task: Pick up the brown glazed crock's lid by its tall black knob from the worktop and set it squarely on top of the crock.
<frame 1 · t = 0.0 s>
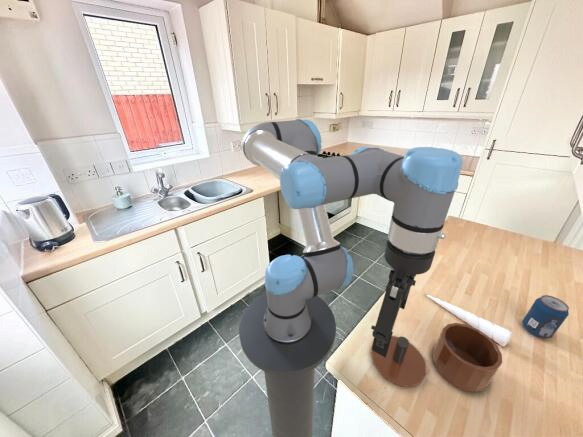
hand: (389, 326, 51), 23 cm above the counter, tool pointing down, fingers open, 13 cm apart
crock lid: (397, 359, 67), point 1 cm above the counter
crock: (458, 366, 65), on the counter
unicorn horn: (463, 320, 78), on the counter
soda can: (534, 330, 74), on the counter
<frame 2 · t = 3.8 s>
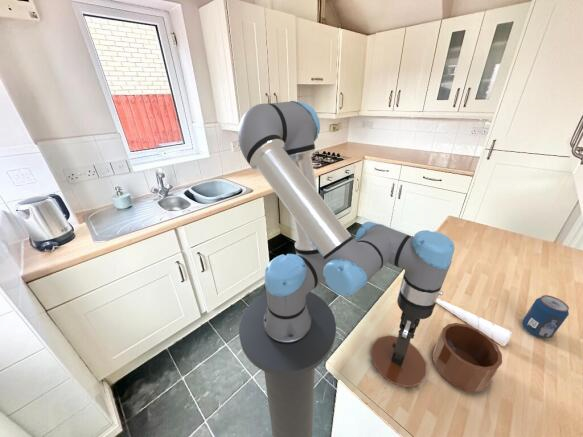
hand: (398, 357, 66), 2 cm above the counter, tool pointing down, fingers closed on crock lid, 3 cm apart
crock lid: (397, 359, 67), point 1 cm above the counter, touching gripper
everything else where it was.
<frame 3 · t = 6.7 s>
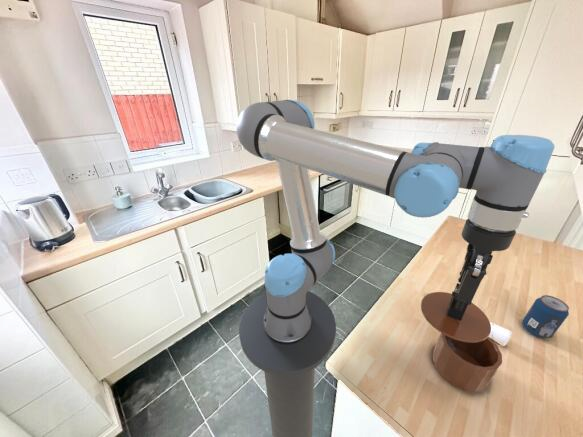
hand: (454, 311, 56), 21 cm above the counter, tool pointing down, fingers closed on crock lid, 3 cm apart
crock lid: (453, 315, 56), point 20 cm above the counter, touching gripper
everything else where it was.
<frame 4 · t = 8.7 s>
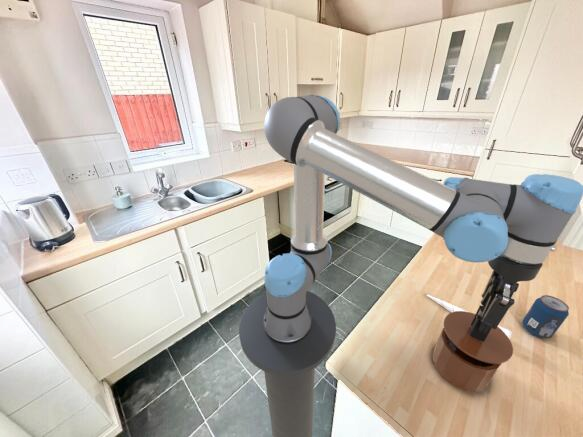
hand: (477, 332, 59), 14 cm above the counter, tool pointing down, fingers closed on crock lid, 3 cm apart
crock lid: (475, 335, 59), point 13 cm above the counter, touching gripper
everything else where it was.
when the fingers open (11 cm above the counter, at t = 9.8 s): crock lid stays where it is, resting on crock.
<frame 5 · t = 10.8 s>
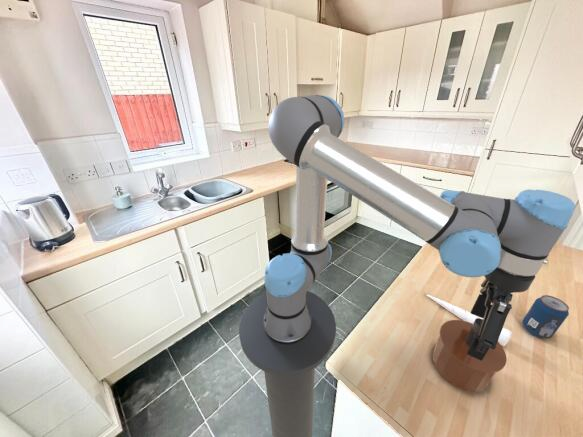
hand: (475, 334, 59), 14 cm above the counter, tool pointing down, fingers open, 13 cm apart
crock lid: (470, 344, 61), point 9 cm above the counter, touching crock
everything else where it was.
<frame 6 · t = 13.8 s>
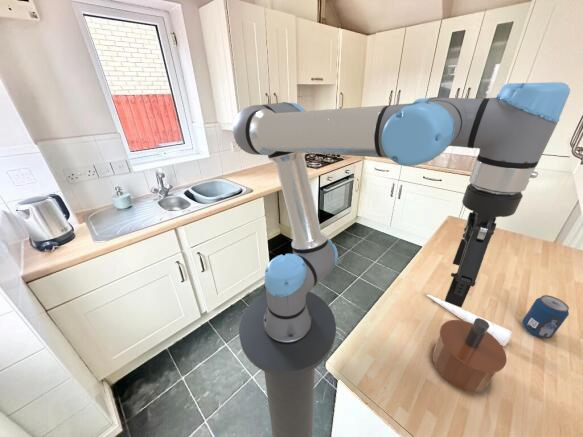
hand: (456, 282, 51), 31 cm above the counter, tool pointing down, fingers open, 13 cm apart
nothing on the counter moved.
at the end: crock lid 0.1 cm off-centre on the crock, point 9.5 cm above the crock's base; crock lid tilted 0°; the gripper is holding nothing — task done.
